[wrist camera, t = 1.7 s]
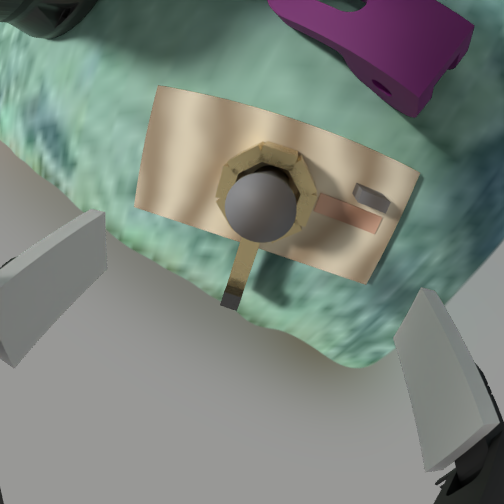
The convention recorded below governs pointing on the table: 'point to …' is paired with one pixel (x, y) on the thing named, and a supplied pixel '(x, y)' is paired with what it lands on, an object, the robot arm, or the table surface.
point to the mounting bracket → (387, 43)
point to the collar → (304, 197)
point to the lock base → (240, 127)
